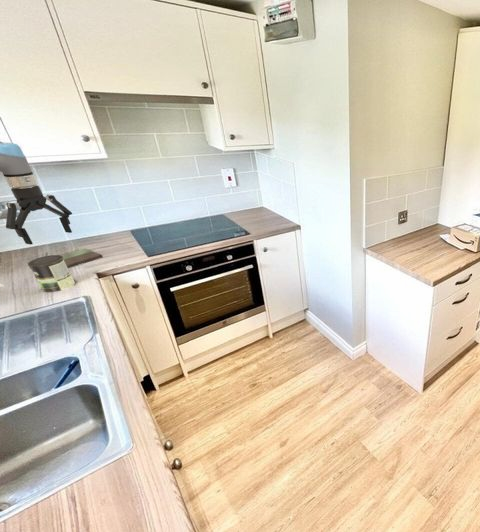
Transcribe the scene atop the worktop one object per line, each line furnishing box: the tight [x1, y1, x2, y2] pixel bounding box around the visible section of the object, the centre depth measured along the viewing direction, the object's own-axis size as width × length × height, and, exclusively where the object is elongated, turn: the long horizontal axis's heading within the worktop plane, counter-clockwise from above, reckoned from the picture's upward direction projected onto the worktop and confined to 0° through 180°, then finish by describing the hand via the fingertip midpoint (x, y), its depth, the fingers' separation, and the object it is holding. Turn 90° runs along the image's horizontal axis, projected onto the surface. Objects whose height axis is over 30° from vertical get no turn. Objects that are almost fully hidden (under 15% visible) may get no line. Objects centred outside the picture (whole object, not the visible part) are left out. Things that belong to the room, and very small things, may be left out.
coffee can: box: [27, 254, 76, 293], centre depth 136 cm, size 10×10×14 cm
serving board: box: [61, 248, 103, 269], centre depth 162 cm, size 20×16×2 cm
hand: (50, 237), depth 133 cm, fingers open, 13 cm apart
